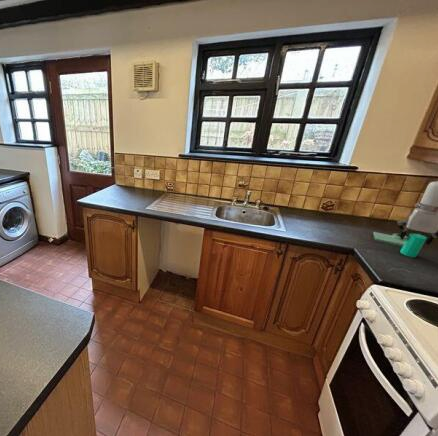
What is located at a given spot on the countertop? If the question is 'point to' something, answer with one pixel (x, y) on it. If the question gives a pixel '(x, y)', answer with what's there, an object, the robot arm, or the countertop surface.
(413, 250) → the candle
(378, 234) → the scale
